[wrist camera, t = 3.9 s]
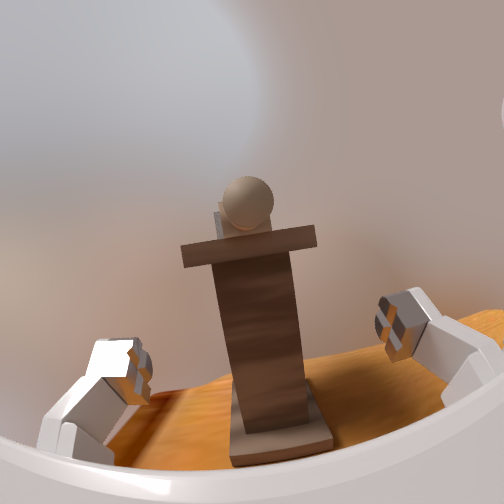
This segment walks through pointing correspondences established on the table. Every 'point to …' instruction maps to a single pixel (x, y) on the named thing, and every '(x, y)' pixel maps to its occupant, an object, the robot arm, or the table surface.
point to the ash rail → (246, 207)
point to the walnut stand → (264, 345)
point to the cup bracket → (218, 225)
